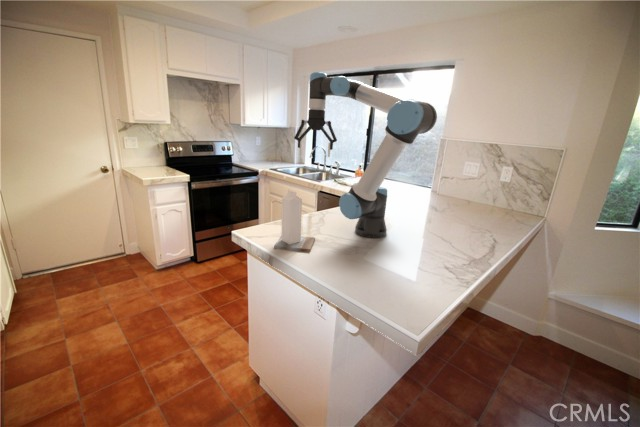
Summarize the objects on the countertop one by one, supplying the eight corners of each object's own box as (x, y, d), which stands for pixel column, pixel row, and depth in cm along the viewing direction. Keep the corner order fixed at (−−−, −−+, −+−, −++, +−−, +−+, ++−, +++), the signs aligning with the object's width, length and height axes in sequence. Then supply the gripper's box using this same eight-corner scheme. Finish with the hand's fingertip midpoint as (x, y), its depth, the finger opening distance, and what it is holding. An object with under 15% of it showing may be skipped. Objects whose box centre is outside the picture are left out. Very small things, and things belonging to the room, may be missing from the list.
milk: (289, 244, 126) (289, 193, 119) (281, 240, 130) (281, 190, 123) (300, 241, 129) (302, 191, 123) (292, 237, 134) (293, 188, 127)
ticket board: (314, 240, 135) (315, 237, 134) (310, 252, 122) (310, 249, 122) (282, 236, 136) (282, 234, 136) (274, 248, 124) (274, 245, 124)
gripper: (344, 110, 142) (341, 156, 148) (292, 108, 145) (291, 153, 151) (343, 110, 135) (340, 158, 141) (288, 107, 138) (287, 154, 144)
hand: (314, 155), depth 146 cm, fingers open, 13 cm apart
